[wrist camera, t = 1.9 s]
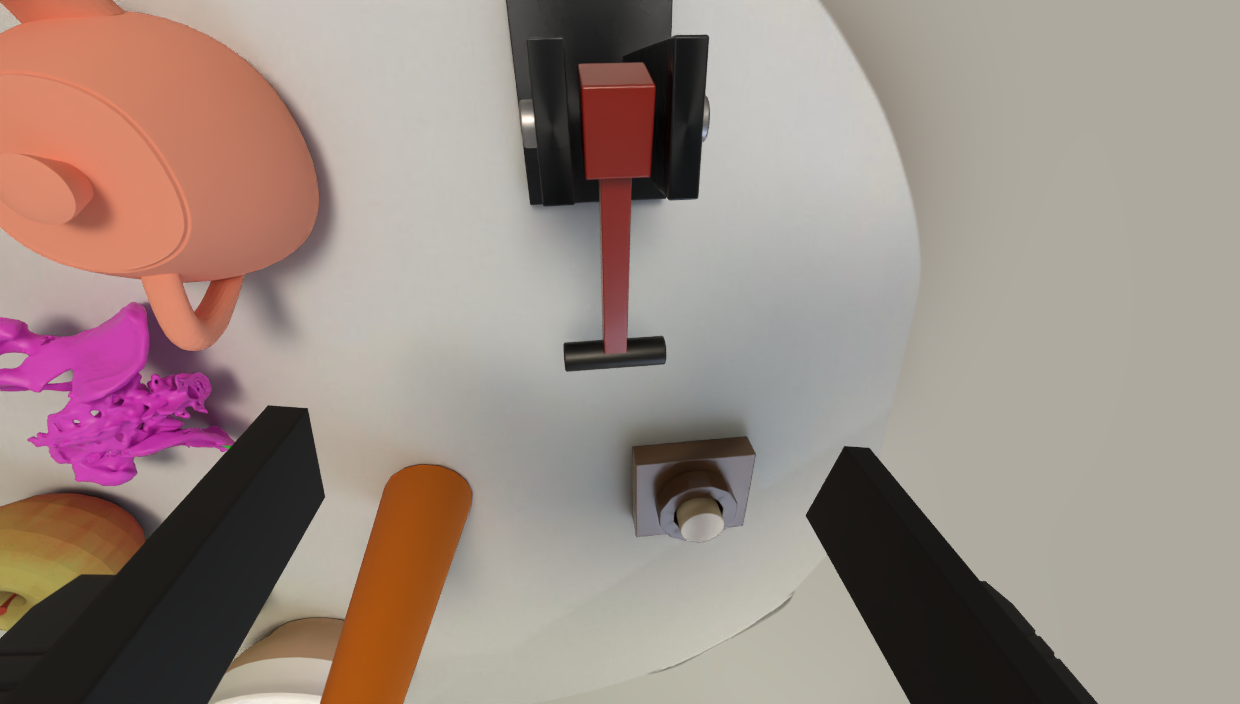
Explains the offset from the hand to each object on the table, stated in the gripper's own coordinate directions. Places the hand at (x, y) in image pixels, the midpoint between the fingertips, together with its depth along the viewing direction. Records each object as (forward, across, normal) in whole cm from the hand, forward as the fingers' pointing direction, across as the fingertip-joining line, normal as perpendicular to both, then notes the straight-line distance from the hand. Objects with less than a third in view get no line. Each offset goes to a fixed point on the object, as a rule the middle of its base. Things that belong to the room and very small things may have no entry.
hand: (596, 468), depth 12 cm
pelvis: (+20, -26, -13) cm, 36 cm away
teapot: (+20, -20, +2) cm, 29 cm away
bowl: (+20, -20, -48) cm, 56 cm away
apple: (+20, -34, -28) cm, 49 cm away
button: (+17, +13, -21) cm, 29 cm away
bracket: (+20, 0, +7) cm, 22 cm away
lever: (+11, +1, +3) cm, 11 cm away
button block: (+20, +13, -21) cm, 32 cm away
